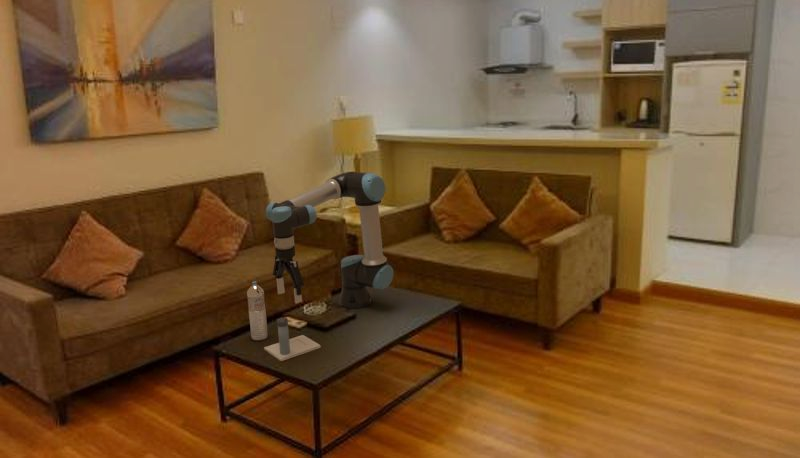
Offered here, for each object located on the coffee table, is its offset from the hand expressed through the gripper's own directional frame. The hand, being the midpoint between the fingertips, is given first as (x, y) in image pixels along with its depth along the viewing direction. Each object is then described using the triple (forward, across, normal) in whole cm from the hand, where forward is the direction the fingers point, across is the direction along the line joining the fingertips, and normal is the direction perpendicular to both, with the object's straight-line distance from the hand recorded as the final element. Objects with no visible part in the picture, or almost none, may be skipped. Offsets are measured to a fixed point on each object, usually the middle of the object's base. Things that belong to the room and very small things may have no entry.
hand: (289, 297), depth 248 cm
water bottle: (+22, -19, -6) cm, 30 cm away
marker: (+21, +3, -6) cm, 22 cm away
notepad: (+22, 0, -1) cm, 22 cm away
